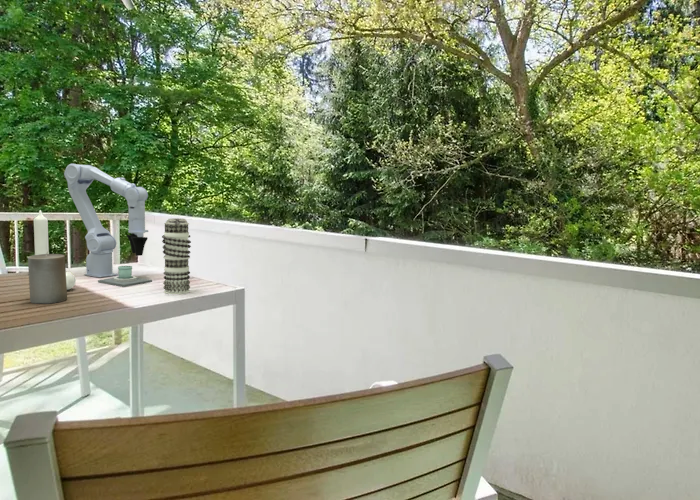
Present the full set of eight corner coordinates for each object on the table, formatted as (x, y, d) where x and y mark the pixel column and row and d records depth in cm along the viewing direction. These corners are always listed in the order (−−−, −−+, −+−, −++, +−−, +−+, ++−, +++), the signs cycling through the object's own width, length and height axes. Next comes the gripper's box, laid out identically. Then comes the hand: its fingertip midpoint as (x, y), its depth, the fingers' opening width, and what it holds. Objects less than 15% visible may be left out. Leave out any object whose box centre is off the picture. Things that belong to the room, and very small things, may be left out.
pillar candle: (59, 295, 158) (57, 248, 156) (72, 300, 152) (70, 252, 150) (24, 300, 150) (22, 251, 148) (36, 305, 144) (33, 254, 142)
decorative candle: (162, 289, 172) (161, 217, 169) (190, 288, 176) (190, 218, 173) (162, 295, 164) (161, 219, 161) (191, 294, 167) (191, 219, 164)
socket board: (97, 282, 180) (97, 277, 180) (126, 277, 191) (126, 273, 191) (124, 287, 174) (124, 281, 174) (151, 282, 185) (151, 277, 185)
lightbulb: (60, 278, 157) (69, 265, 167) (41, 287, 157) (52, 274, 167) (73, 293, 160) (81, 279, 170) (55, 303, 160) (65, 288, 170)
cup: (129, 281, 180) (129, 267, 180) (116, 281, 180) (116, 267, 179) (134, 279, 185) (133, 265, 185) (120, 278, 185) (120, 265, 184)
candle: (27, 275, 188) (24, 209, 185) (43, 273, 195) (41, 209, 192) (41, 277, 186) (39, 210, 183) (57, 274, 193) (55, 210, 190)
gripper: (151, 220, 185) (152, 256, 186) (144, 217, 197) (144, 251, 198) (131, 220, 181) (132, 256, 182) (124, 217, 193) (125, 252, 194)
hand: (137, 254), depth 190 cm, fingers open, 7 cm apart
